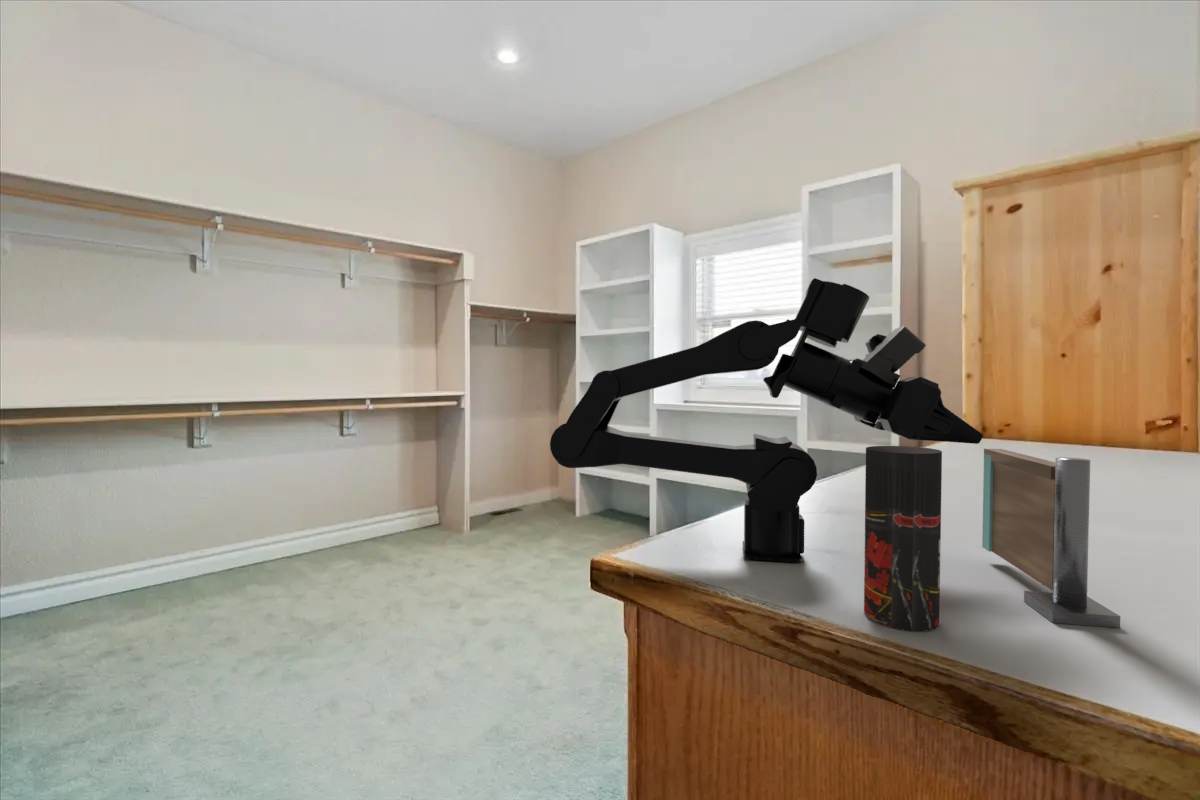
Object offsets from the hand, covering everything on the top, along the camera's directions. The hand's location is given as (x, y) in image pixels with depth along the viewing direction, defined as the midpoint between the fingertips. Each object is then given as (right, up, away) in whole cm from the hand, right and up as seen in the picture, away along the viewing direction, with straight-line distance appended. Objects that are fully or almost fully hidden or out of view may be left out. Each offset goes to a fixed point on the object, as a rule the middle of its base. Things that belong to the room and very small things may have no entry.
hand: (963, 435), depth 65 cm
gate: (+3, -14, -5) cm, 15 cm away
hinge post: (+1, -15, -13) cm, 20 cm away
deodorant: (-14, -16, -14) cm, 25 cm away
